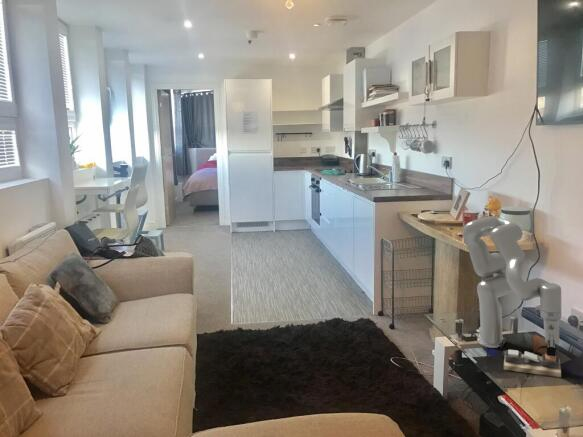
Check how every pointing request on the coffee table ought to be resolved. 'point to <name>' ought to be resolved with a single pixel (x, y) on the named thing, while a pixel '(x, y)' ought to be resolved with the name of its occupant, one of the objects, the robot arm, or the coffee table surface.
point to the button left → (513, 353)
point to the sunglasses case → (539, 345)
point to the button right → (550, 358)
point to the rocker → (531, 356)
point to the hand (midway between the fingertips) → (551, 355)
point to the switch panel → (532, 365)
